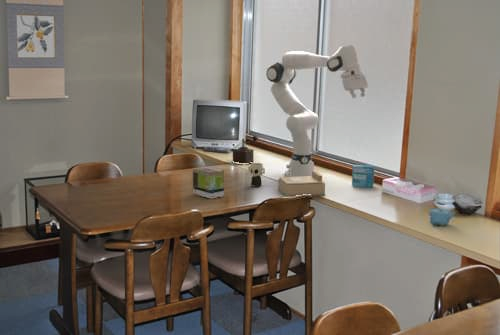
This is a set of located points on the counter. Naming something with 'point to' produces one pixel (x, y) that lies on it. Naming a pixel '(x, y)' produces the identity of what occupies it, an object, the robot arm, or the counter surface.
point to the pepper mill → (244, 152)
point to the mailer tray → (301, 188)
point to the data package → (363, 176)
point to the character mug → (256, 173)
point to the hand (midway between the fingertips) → (358, 97)
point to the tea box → (208, 182)
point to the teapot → (440, 217)
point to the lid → (303, 179)
